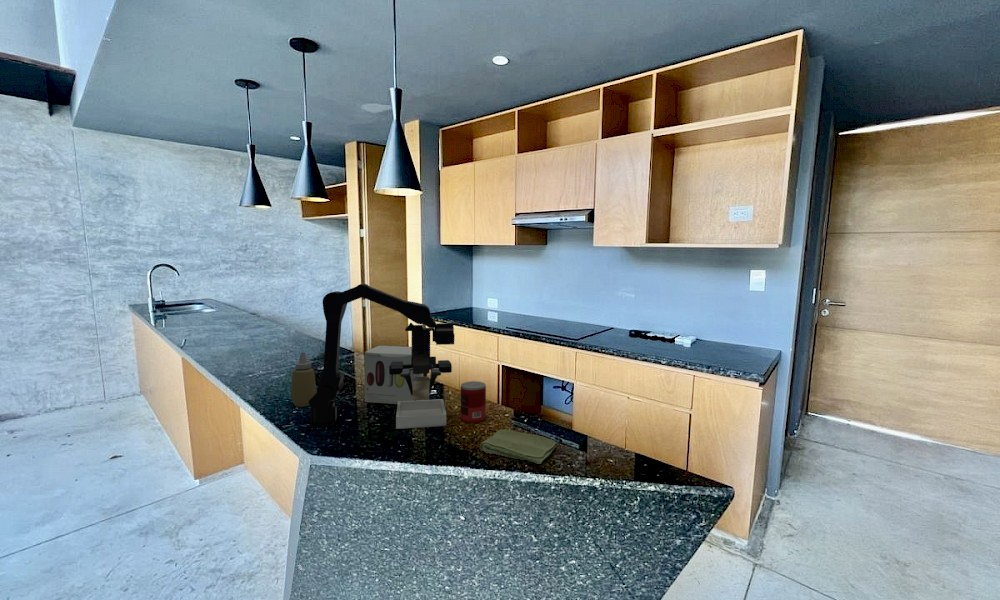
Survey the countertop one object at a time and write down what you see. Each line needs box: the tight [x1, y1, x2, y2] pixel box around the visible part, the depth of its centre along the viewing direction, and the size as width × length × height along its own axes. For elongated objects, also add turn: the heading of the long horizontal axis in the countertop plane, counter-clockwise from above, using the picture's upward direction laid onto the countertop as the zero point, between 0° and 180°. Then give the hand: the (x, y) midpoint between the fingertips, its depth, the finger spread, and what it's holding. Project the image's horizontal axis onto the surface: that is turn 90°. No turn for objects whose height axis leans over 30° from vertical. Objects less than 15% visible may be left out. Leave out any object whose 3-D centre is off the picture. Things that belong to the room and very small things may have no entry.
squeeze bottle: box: [290, 351, 317, 408], centre depth 139 cm, size 8×8×18 cm
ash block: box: [412, 375, 430, 400], centre depth 128 cm, size 5×5×6 cm
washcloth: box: [479, 428, 558, 464], centre depth 107 cm, size 13×18×3 cm
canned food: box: [460, 380, 487, 424], centre depth 128 cm, size 8×8×11 cm
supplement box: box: [364, 345, 424, 405], centre depth 147 cm, size 17×13×18 cm
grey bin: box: [395, 398, 447, 430], centre depth 128 cm, size 15×15×4 cm
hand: (420, 394), depth 128 cm, fingers closed on ash block, 5 cm apart
